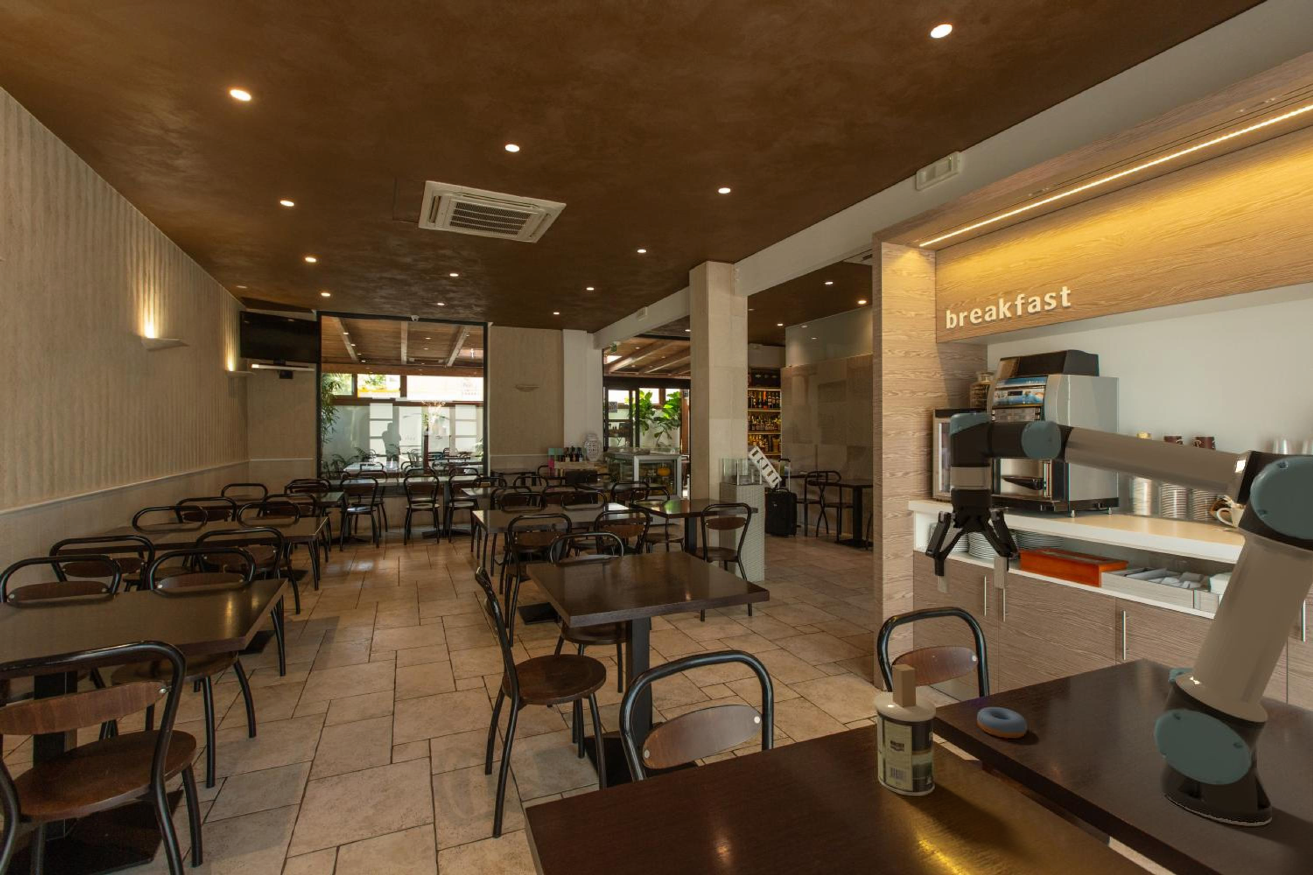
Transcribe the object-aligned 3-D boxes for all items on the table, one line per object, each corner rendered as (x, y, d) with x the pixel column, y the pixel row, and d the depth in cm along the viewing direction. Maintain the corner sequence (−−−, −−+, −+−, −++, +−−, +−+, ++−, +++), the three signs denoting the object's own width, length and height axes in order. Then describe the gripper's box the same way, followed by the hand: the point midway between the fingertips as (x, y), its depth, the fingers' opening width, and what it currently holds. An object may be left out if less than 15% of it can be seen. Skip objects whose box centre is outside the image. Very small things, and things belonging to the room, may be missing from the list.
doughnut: (1039, 736, 137) (1036, 714, 137) (1002, 745, 134) (999, 723, 135) (1003, 721, 147) (1000, 701, 147) (968, 729, 144) (965, 709, 144)
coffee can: (927, 769, 124) (926, 699, 124) (940, 799, 114) (939, 722, 114) (873, 765, 126) (872, 695, 126) (881, 793, 116) (880, 718, 116)
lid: (911, 694, 127) (910, 655, 127) (948, 717, 116) (947, 674, 116) (863, 700, 124) (862, 660, 124) (896, 724, 114) (895, 680, 114)
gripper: (1008, 484, 135) (1010, 581, 135) (906, 487, 130) (907, 589, 130) (1036, 486, 128) (1038, 589, 128) (929, 490, 123) (931, 598, 123)
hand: (972, 589), depth 129 cm, fingers open, 13 cm apart
